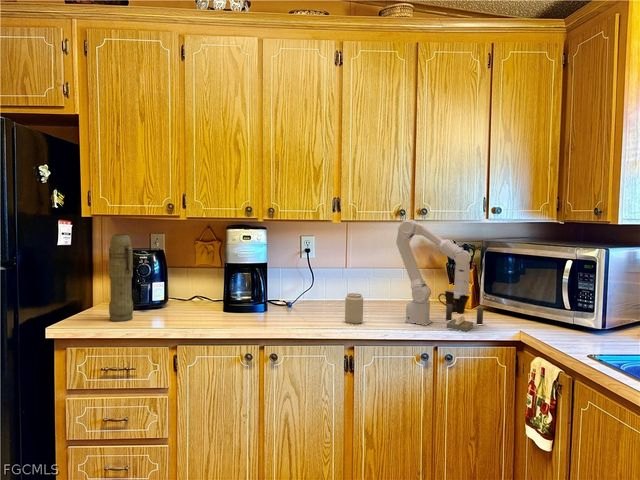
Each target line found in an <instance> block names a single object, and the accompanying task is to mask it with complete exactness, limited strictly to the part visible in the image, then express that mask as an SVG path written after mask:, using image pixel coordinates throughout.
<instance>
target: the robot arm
mask: <svg viewBox="0 0 640 480" xmlns="http://www.w3.org/2000/svg"><path fill="white" fill-rule="evenodd" d="M415 235H416V236H423V237H424V238H426V239H427V240H429V241H430V242H432V244H433V243H434V244H435V245H436V246H437V247H438V249H439V252H442V254H443V255H445V256H446V257H448V258H450V259H451V260H454V263H455V269H454V286H453V287H454V296H453V299H454V301H455V303H456V308H457V313H456V314H459V315H463V314H464V313H465V310H466V305H467V303H468V301H469V299H470V295H472V294H473V292H472V291H470V278H471V276H470V275H471V274H470V273H471V272H470V271H471V269H470V267H471V265H470V262H471V260H472V255H471V254H470V252H469V251H468V250H464V247H460V246H459V245H457V244H456V243H454V240H453V239H448V238H447V239H446V238H445V239H443V238H442V237H440V236H439V235H438V234H436V233H435V232H434V231H432V230H431V229H429V228H428V227H427V226H426V225H424V224H422V223H420V222H418V221H417V220H415V219H405V220H403V221H401V222H400V224H399V226H398V227H397V237H396V246H397V249H398V252H399V254H400V257H401V259H402V262H403V266H404V267H405V270H406V273H407V275H408V278H409V281H410V288H411V298H412V300H408V301H407V303H406V306H405V307H406V308H405V320H404V322H405V323H408V324H414V323H416V324H415V325H420V324H422V325H421V326H428V325H429V323H430V324H432V323H433V320H430V314H431V313H430V311H431V310H430V309H431V300H430V299H429V298H430V297H431V295H432V290H431V288H430V286H428V285H427V282H426V281H425V280H424V278H423V276H422V273H421V271H420V268H419V266H418V263H417V260H416V257H415V255H414V253H413V250H412V247H411V244H410V242H411V240H412V239H413V237H414V236H415ZM427 324H428V325H427Z"/></svg>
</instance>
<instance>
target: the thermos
mask: <svg viewBox="0 0 640 480" xmlns="http://www.w3.org/2000/svg"><path fill="white" fill-rule="evenodd" d="M133 251H134V249H133V247H132V240H131V238H130V235H128V233H127V234H125V233H115V234H113V235H112V236H111V239H110V246H109V248H108V253H109V254H108V255H109V256H108V257H109V258H108V259H109V260H108V261H109V263H108V277H109V281H110V288H109V289H110V301H109V304H108V314H109V321H110V322H114V323H120V322H121V323H122V322H129V321H132V320H133V318H134V317H133V313H134V301H133V298H132V294H133V293H132V290H133V289H132V280H133V279H132V278H133V277H134V274H133V273H134V271H133V270H134V269H133V268H134V264H133V263H134V257H133V255H134V252H133Z"/></svg>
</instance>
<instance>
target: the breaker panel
mask: <svg viewBox="0 0 640 480" xmlns="http://www.w3.org/2000/svg"><path fill="white" fill-rule="evenodd" d="M456 319H457V318H453V319H452V321H448V322H447V323H446V329H447V328H452V329H457V330H456V331H458V330H461V331H460V332H464V331H465V332H466V333H467V332H469V331H470V330H471V329H472V328H473V327H474V322H473V321H470V320H469V321H468V320H465V321H463V322H462V323H461V324H459V325H457V324H455V323H456ZM472 326H473V327H472ZM471 327H472V328H471ZM470 328H471V329H470ZM452 329H451V330H452ZM469 329H470V330H469Z"/></svg>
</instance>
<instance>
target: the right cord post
mask: <svg viewBox="0 0 640 480" xmlns="http://www.w3.org/2000/svg"><path fill="white" fill-rule="evenodd" d="M483 319H484V308H482V307H477V308H476V325H477V324H483V322H484V320H483ZM483 325H484V324H483Z"/></svg>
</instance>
